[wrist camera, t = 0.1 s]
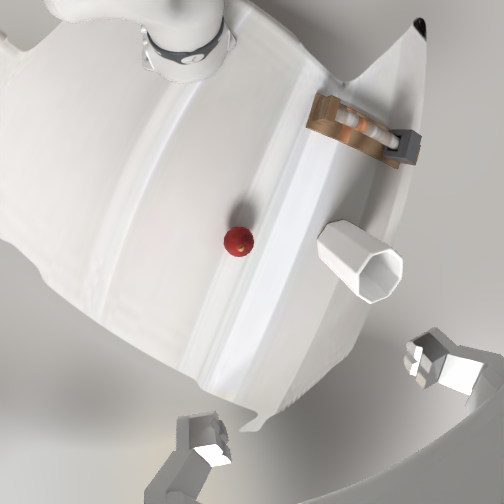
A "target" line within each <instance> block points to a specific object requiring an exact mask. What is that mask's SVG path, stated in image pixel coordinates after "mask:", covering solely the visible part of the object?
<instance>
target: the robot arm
mask: <svg viewBox="0 0 504 504" xmlns="http://www.w3.org/2000/svg"><path fill="white" fill-rule="evenodd" d="M43 2H44V4H45V6H46V8H47V9H48V11H49V12H50V13H51V14H53V15H54V16H55V17H57V18H59V19H61V20H63V21H66V22H69V23H79V22H84V21H89V20H96V19H120V20H127V21H132V22H135V23H139V24H141V31H142V34H144V36H143V57H142V65H143V68H144V69H146V70H150V71H155V72H157V73H159V74H160V75H162V76H163V77H164V78H166V79H168V80H170V81H173V82H177V83H193V82H197V81H200V80H203V79H205V78H207V77H209V76H210V75H212V74H213V73H214V72H215V71H216V70H217V69H218V68H219V67H220V66H221V64H222V62H223V60H224V58H225V56H226V54H227V53H228V52H230V51H231V50H232V49H233V48H234V47H235V45H236V40H235V38H234V36H233V35H232V33H231V31H230V29H229V28H228V26H227V24H226V23H225V21H224V18H223V10H224V4H225V0H43ZM147 58H148V60H147ZM406 349H407V350H408V351H407V353H406V354H405V356H404V363H405V367H406V368H407V371H408V372H409V373H410V374H412V375H415V376H416V377H415V378H416V382H417V383H418V384H419V385H420V387H421V388H422V389H423V390H424V389H426V388H427V387H429V386H431V385H432V384H434V383H436V382H437V381H438V382H439V383H441V384H443V385H446V386H448V387H450V388H453V389H455V390H458V391H460V392H463V393H465V394H468V395H470V396H469V398H468V400H467V401H466V404H465V407H466V408H467V409H468V411H469V412H470V413H471V414H470V415H469V416H467V417H466V418H465V419H464V420H462V422H460V423H459V424H457V425H456V426H455V427H454V428H452V429H451V430H449V431H448V432H447V433H445V434H444V435H442V436H441V437H439V438H438V439H437V440H435V441H434V442H432V443H431V444H429V445H427V446H426V447H424V448H423V449H421V450H420V451H418V452H416V453H415V454H413V455H411V456H409V457H408V458H406V459H404V460H402V461H401V462H399V463H397V464H395V465H393V466H392V467H389V468H388V469H386V470H384V471H382V472H380V473H378V474H375V475H373V476H371V477H369V478H367V479H365V480H362V481H360V482H358V483H355V484H353V485H350V486H348V487H346V488H343V489H340V490H338V491H335V492H332V493H329V494H327V495H323V496H321V497H317V498H314V499H311V500H308V501H305V502H301V503H297V504H504V358H503V356H501V355H500V354H496V353H492V352H487V351H483V350H478V349H474V348H469V347H465V346H461V345H460V346H457V345H456V344H454V343H453V342H452V341H451V340H450V339H449V338H448V337H447V336H446V335H445V334H444V333H443V332H441V331H440V330H439V329H438V328H436V327H434V328H432V329H430V330H428V331H427V332H424V333H422V334H421V335H419V336H417V337H415V338H414V339H412V340H410V341H408V343H407V345H406ZM176 428H177V429H176V431H177V432H176V451H173V452H172V453H171V455H170V456H169V458H168V459H167V460H166V462H165V463H164V465H163V466H162V467H161V469H160V470H159V471H158V473H157V474H156V476H155V477H154V479H153V480H152V481H151V483H150V484H149V485H148V487H147V488H146V489H145V491H144V504H201V503H199V502H198V501H196V498H197V496H198V494H199V492H200V491H201V489H202V487H203V484H204V483H205V481H206V479H207V476H208V474H209V472H210V470H211V468H212V467H211V466H217V465H222V464H228V463H232V461H231V454H230V449H229V448H228V446H227V445H226V444H227V442H228V434H227V431H226V427H225V425H224V423H223V422H222V421H221V420H219V417H218V414H217V412H216V411H211V412H206V413H199V414H193V415H186V416H180V417H178V418H177V427H176Z"/></svg>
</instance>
